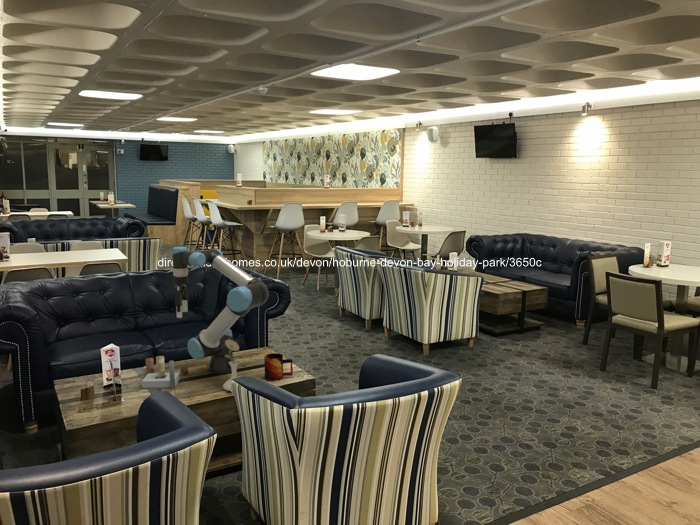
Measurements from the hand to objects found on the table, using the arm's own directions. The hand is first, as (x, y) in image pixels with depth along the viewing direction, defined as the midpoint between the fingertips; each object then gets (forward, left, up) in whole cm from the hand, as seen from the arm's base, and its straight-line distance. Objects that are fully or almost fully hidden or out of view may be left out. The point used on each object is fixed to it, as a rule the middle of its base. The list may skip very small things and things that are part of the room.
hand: (182, 314), depth 300 cm
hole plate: (+8, +19, -32) cm, 38 cm away
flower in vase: (-30, +28, -32) cm, 52 cm away
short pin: (-1, +5, -32) cm, 32 cm away
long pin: (+8, +18, -32) cm, 37 cm away
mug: (-51, +13, -32) cm, 62 cm away
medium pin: (+17, +5, -32) cm, 36 cm away
